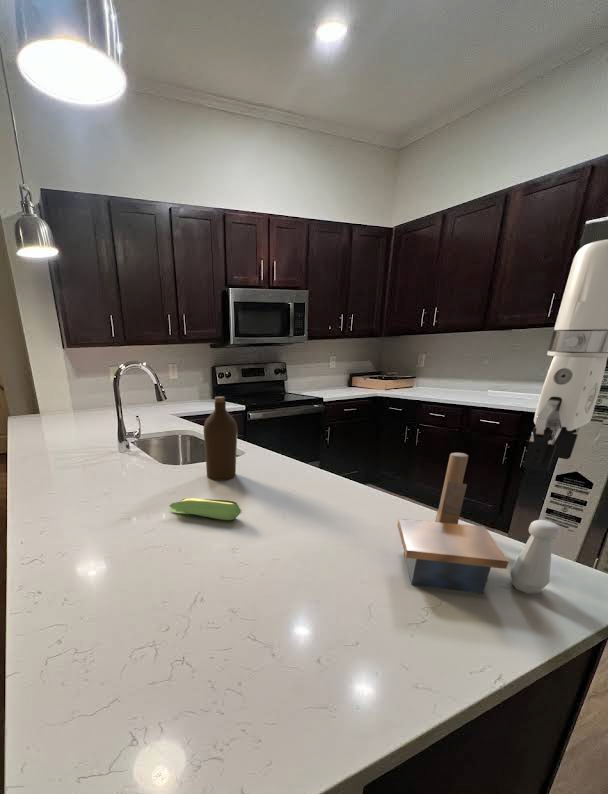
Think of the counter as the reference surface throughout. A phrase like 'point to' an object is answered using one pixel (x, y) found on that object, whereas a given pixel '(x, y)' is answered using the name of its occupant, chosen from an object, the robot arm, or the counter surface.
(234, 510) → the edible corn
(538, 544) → the salt shaker
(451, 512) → the wooden block
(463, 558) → the stand
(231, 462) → the olive oil
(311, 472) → the counter surface
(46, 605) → the counter surface
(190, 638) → the counter surface
